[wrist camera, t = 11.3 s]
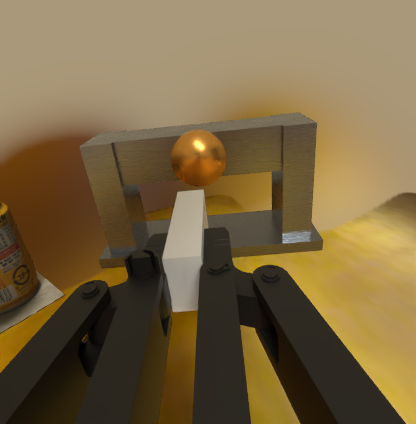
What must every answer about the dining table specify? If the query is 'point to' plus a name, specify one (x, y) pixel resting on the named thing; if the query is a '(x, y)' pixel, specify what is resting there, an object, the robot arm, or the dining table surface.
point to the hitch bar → (236, 164)
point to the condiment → (19, 277)
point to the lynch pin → (198, 157)
